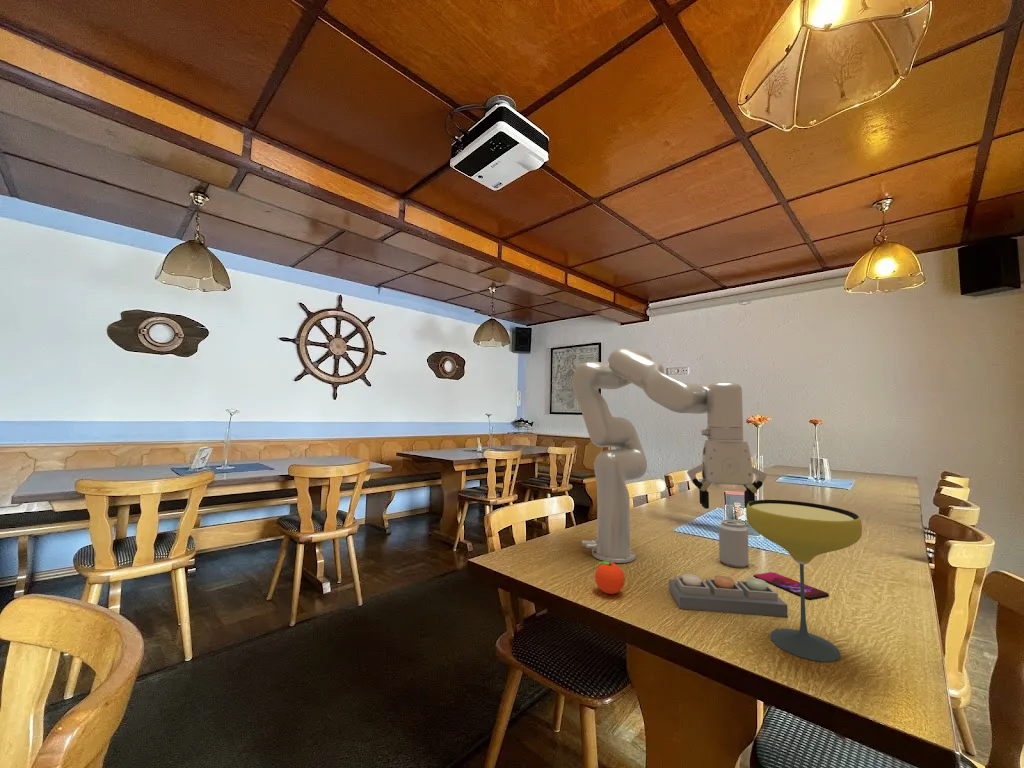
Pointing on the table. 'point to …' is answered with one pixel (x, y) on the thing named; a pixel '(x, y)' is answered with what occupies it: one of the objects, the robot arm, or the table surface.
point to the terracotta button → (724, 582)
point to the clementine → (609, 577)
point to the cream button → (692, 580)
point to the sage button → (756, 584)
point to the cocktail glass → (804, 556)
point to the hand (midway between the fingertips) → (726, 508)
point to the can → (733, 543)
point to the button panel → (727, 598)
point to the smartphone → (791, 586)
